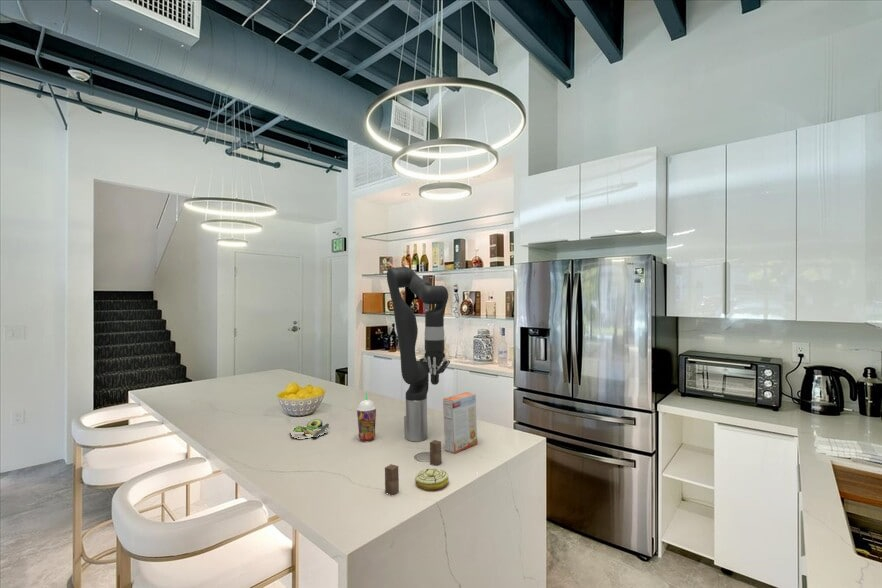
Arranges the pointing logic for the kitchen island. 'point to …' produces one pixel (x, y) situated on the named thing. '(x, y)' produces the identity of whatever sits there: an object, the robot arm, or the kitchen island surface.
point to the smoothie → (366, 419)
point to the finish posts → (392, 470)
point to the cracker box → (460, 422)
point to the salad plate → (313, 428)
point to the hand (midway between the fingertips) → (434, 384)
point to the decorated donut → (431, 479)
